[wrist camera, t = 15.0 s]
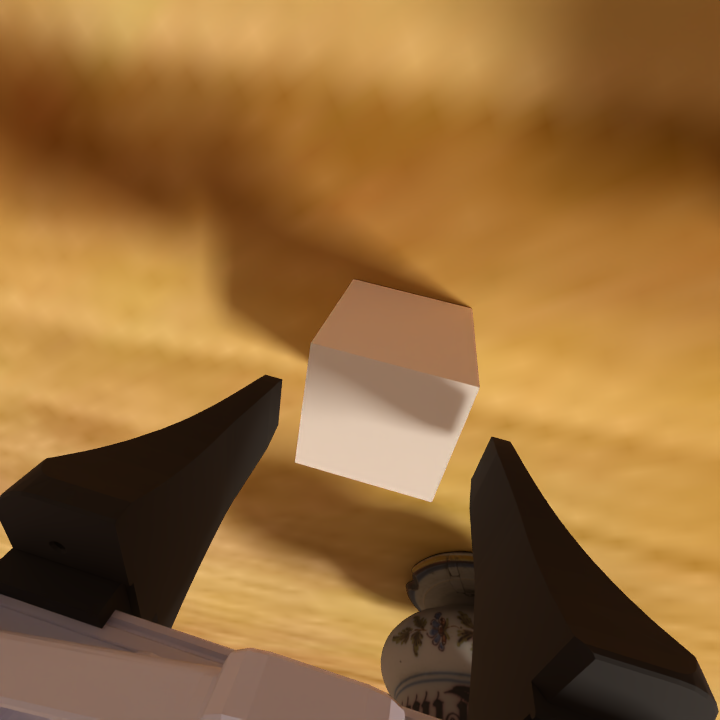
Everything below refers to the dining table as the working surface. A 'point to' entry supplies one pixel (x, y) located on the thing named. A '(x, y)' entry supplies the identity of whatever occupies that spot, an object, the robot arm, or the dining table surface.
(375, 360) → the beige block
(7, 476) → the dining table surface
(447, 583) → the apothecary jar
